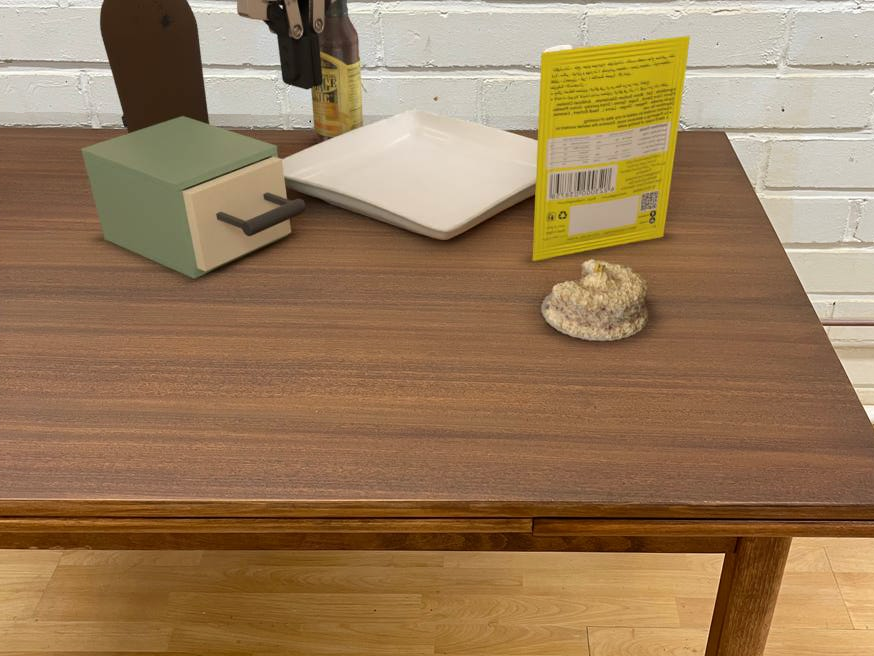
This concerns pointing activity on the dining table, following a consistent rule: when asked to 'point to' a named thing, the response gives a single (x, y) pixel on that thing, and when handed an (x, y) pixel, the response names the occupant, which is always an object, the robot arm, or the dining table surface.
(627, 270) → the cake
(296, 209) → the drawer
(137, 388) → the dining table surface
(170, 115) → the rounded brown slab
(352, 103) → the sauce bottle
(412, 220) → the square plate
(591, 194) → the food package
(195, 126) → the cabinet
